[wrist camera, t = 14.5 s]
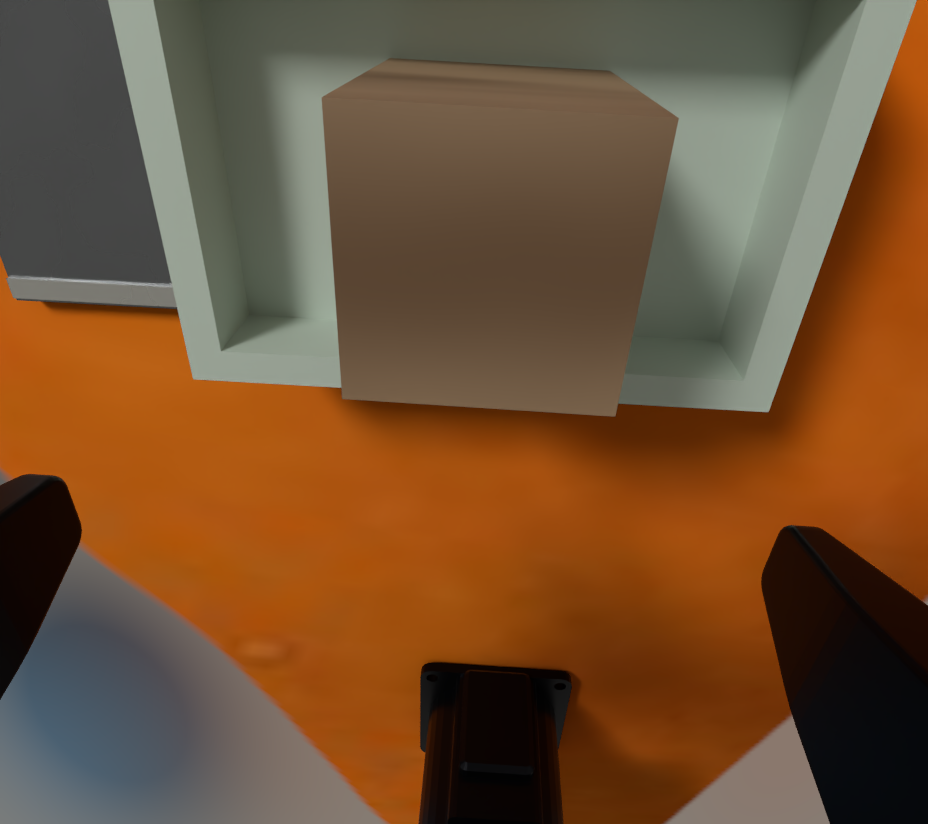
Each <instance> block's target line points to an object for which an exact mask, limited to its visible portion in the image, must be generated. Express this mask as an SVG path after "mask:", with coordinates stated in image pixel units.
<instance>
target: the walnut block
mask: <svg viewBox="0 0 928 824" xmlns="http://www.w3.org/2000/svg"><path fill="white" fill-rule="evenodd" d="M322 112H323V126H324V141H325V155H326V170H327V185H328V199H329V214H330V228H331V243H332V258H333V272H334V287H335V301H336V316H337V331H338V345H339V360H340V375H341V389H342V399H351V400H366V401H382V402H397V403H412V404H428V405H443V406H458V407H474V408H489V409H505V410H520V411H535V412H551V413H566V414H581V415H597V416H612V417H615V416H616V411H617V407H618V402H619V397H620V392H621V388H622V383H623V378H624V374H625V369H626V364H627V360H628V355H629V350H630V346H631V341H632V336H633V331H634V327H635V322H636V317H637V313H638V308H639V303H640V299H641V294H642V289H643V285H644V280H645V275H646V271H647V266H648V261H649V256H650V252H651V247H652V242H653V238H654V233H655V228H656V224H657V219H658V214H659V210H660V205H661V200H662V195H663V191H664V186H665V181H666V177H667V172H668V167H669V163H670V158H671V153H672V149H673V144H674V139H675V134H676V130H677V125H678V120H679V118H678V117H677V116H675V115H674V114H672V113H671V112H669V111H668V110H666V109H665V108H663V107H662V106H661V105H659V104H658V103H656V102H655V101H653V100H652V99H650V98H649V97H647V96H646V95H645V94H643V93H642V92H640V91H639V90H637V89H636V88H634V87H633V86H631V85H630V84H629V83H627V82H626V81H624V80H623V79H621V78H620V77H618V76H617V75H615V74H614V73H613V72H611V71H607V70H590V69H572V68H555V67H537V66H520V65H503V64H485V63H468V62H451V61H433V60H416V59H399V58H389V59H387V60H386V61H384V62H382V63H380V64H379V65H377V66H375V67H373V68H372V69H370V70H368V71H366V72H365V73H363V74H361V75H359V76H358V77H356V78H354V79H352V80H351V81H349V82H347V83H345V84H344V85H342V86H340V87H339V88H337V89H335V90H333V91H332V92H330V93H328V94H326V95H325V96H323V97H322Z"/></svg>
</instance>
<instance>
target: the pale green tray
mask: <svg viewBox="0 0 928 824" xmlns="http://www.w3.org/2000/svg"><path fill="white" fill-rule="evenodd" d="M916 1H917V0H108V3H109V7H110V12H111V16H112V20H113V25H114V29H115V34H116V38H117V43H118V47H119V51H120V56H121V60H122V65H123V69H124V74H125V78H126V83H127V87H128V91H129V96H130V100H131V105H132V109H133V114H134V118H135V122H136V127H137V131H138V136H139V140H140V145H141V149H142V154H143V158H144V162H145V167H146V171H147V176H148V180H149V185H150V189H151V194H152V198H153V202H154V207H155V211H156V216H157V220H158V225H159V229H160V233H161V238H162V242H163V247H164V251H165V256H166V260H167V265H168V269H169V273H170V278H171V282H172V287H173V291H174V296H175V300H176V305H177V309H178V313H179V318H180V322H181V327H182V331H183V336H184V340H185V344H186V349H187V353H188V358H189V362H190V367H191V371H192V376H193V379H198V380H216V381H233V382H250V383H268V384H285V385H303V386H320V387H338V388H341V375H340V360H339V345H338V331H337V316H336V301H335V287H334V272H333V258H332V243H331V228H330V214H329V199H328V185H327V170H326V155H325V141H324V126H323V112H322V97H323V96H325V95H326V94H328V93H330V92H332V91H333V90H335V89H337V88H339V87H340V86H342V85H344V84H345V83H347V82H349V81H351V80H352V79H354V78H356V77H358V76H359V75H361V74H363V73H365V72H366V71H368V70H370V69H372V68H373V67H375V66H377V65H379V64H380V63H382V62H384V61H386V60H387V59H389V58H399V59H416V60H433V61H451V62H468V63H485V64H503V65H520V66H537V67H555V68H572V69H590V70H607V71H611V72H613V73H614V74H615V75H617V76H618V77H620V78H621V79H623V80H624V81H626V82H627V83H629V84H630V85H631V86H633V87H634V88H636V89H637V90H639V91H640V92H642V93H643V94H645V95H646V96H647V97H649V98H650V99H652V100H653V101H655V102H656V103H658V104H659V105H661V106H662V107H663V108H665V109H666V110H668V111H669V112H671V113H672V114H674V115H675V116H677V117H678V118H679V120H678V125H677V130H676V134H675V139H674V144H673V149H672V153H671V158H670V163H669V167H668V172H667V177H666V181H665V186H664V191H663V195H662V200H661V205H660V210H659V214H658V219H657V224H656V228H655V233H654V238H653V242H652V247H651V252H650V256H649V261H648V266H647V271H646V275H645V280H644V285H643V289H642V294H641V299H640V303H639V308H638V313H637V317H636V322H635V327H634V331H633V336H632V341H631V346H630V350H629V355H628V360H627V364H626V369H625V374H624V378H623V383H622V388H621V392H620V397H619V402H618V404H634V405H651V406H668V407H686V408H703V409H721V410H738V411H755V412H769V410H770V407H771V404H772V401H773V399H774V396H775V393H776V390H777V387H778V385H779V382H780V379H781V376H782V373H783V371H784V368H785V365H786V362H787V360H788V357H789V354H790V351H791V348H792V346H793V343H794V340H795V337H796V335H797V332H798V329H799V326H800V323H801V321H802V318H803V315H804V312H805V310H806V307H807V304H808V301H809V298H810V296H811V293H812V290H813V287H814V284H815V282H816V279H817V276H818V273H819V271H820V268H821V265H822V262H823V259H824V257H825V254H826V251H827V248H828V246H829V243H830V240H831V237H832V234H833V232H834V229H835V226H836V223H837V221H838V218H839V215H840V212H841V209H842V207H843V204H844V201H845V198H846V195H847V193H848V190H849V187H850V184H851V182H852V179H853V176H854V173H855V170H856V168H857V165H858V162H859V159H860V157H861V154H862V151H863V148H864V145H865V143H866V140H867V137H868V134H869V132H870V129H871V126H872V123H873V120H874V118H875V115H876V112H877V109H878V106H879V104H880V101H881V98H882V95H883V93H884V90H885V87H886V84H887V81H888V79H889V76H890V73H891V70H892V68H893V65H894V62H895V59H896V56H897V54H898V51H899V48H900V45H901V43H902V40H903V37H904V34H905V31H906V29H907V26H908V23H909V20H910V17H911V15H912V12H913V9H914V6H915V4H916Z"/></svg>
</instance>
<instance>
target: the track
mask: <svg viewBox="0 0 928 824" xmlns="http://www.w3.org/2000/svg"><path fill="white" fill-rule="evenodd" d="M0 256H1V258H2V261H3V264H4V266H5V269H6V272H7V275H8V278H6V279H7V282H8V285H9V287H10V290H11V293H12V295H13V298H16V299H17V300H26V301H44V302H62V303H80V304H98V305H116V306H134V307H152V308H170V309H177V305H176V300H175V296H174V291H173V287H172V282H171V278H170V273H169V269H168V265H167V260H166V256H165V251H164V247H163V242H162V238H161V233H160V229H159V225H158V220H157V216H156V211H155V207H154V202H153V198H152V194H151V189H150V185H149V180H148V176H147V171H146V167H145V162H144V158H143V154H142V149H141V145H140V140H139V136H138V131H137V127H136V122H135V118H134V114H133V109H132V105H131V100H130V96H129V91H128V87H127V83H126V78H125V74H124V69H123V65H122V60H121V56H120V51H119V47H118V43H117V38H116V34H115V29H114V25H113V20H112V16H111V12H110V7H109V3H108V0H0Z"/></svg>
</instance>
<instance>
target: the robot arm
mask: <svg viewBox="0 0 928 824" xmlns="http://www.w3.org/2000/svg"><path fill="white" fill-rule="evenodd" d="M81 533H82V529H81V523H80V520H79V517H78V514H77V511H76V509H75V506H74V503H73V501H72V498H71V495H70V493H69V490H68V487H67V485H66V483H65V482H64V481H63V480H62V479H61V478H60V477H57V476H51V475H37V474H26V475H22V476H19V477H17V478H15V479H13V480H11V481H8V482H6V483H4V484H2V485H0V699H1V698H2V696H3V694H4V692H5V691H6V689H7V687H8V686H9V684H10V682H11V681H12V679H13V677H14V676H15V674H16V672H17V671H18V669H19V667H20V665H21V664H22V662H23V660H24V658H25V656H26V654H27V653H28V651H29V649H30V647H31V645H32V643H33V641H34V639H35V637H36V635H37V633H38V631H39V629H40V627H41V624H42V622H43V620H44V618H45V616H46V614H47V612H48V610H49V607H50V605H51V603H52V601H53V599H54V597H55V595H56V592H57V590H58V588H59V586H60V584H61V582H62V579H63V577H64V575H65V573H66V571H67V569H68V567H69V565H70V562H71V560H72V558H73V556H74V554H75V552H76V550H77V548H78V545H79V543H80V539H81ZM761 585H762V592H763V597H764V601H765V605H766V610H767V614H768V618H769V623H770V627H771V631H772V636H773V640H774V644H775V648H776V653H777V657H778V661H779V666H780V670H781V674H782V678H783V683H784V687H785V691H786V695H787V698H788V702H789V706H790V709H791V712H792V715H793V719H794V722H795V725H796V728H797V730H798V734H799V736H800V739H801V742H802V745H803V748H804V750H805V753H806V756H807V759H808V762H809V764H810V768H811V770H812V773H813V776H814V779H815V782H816V785H817V788H818V791H819V793H820V796H821V799H822V802H823V805H824V808H825V811H826V813H827V816H828V819H829V822H830V824H928V605H926V604H925V603H924V602H922V601H921V600H920V599H918V598H917V597H915V596H914V595H913V594H911V593H910V592H909V591H907V590H906V589H904V588H903V587H902V586H900V585H899V584H898V583H896V582H895V581H893V580H892V579H891V578H889V577H888V576H886V575H885V574H884V573H882V572H881V571H880V570H878V569H877V568H875V567H874V566H873V565H871V564H870V563H869V562H867V561H866V560H864V559H863V558H862V557H860V556H859V555H858V554H856V553H855V552H853V551H852V550H851V549H849V548H848V547H847V546H845V545H844V544H842V543H841V542H840V541H838V540H837V539H836V538H834V537H833V536H831V535H830V534H829V533H827V532H826V531H824V530H823V529H821V528H818V527H809V526H794V525H789V526H786V527H784V528H783V529H782V530H781V531H780V532H779V534H778V536H777V539H776V541H775V543H774V546H773V548H772V551H771V553H770V555H769V558H768V560H767V562H766V565H765V567H764V570H763V573H762V581H761ZM571 688H572V685H571V676H570V675H569V674H568V673H566V672H563V671H551V670H535V669H520V668H505V667H489V666H474V665H459V664H443V663H427V664H425V665H424V666H422V669H421V726H420V747H421V750H422V751H423V752H426V754H425V764H424V774H423V784H422V794H421V805H420V815H419V824H563V811H562V798H561V785H560V772H559V759H558V748H559V743H560V739H561V734H562V730H563V725H564V720H565V716H566V711H567V707H568V702H569V698H570V693H571Z"/></svg>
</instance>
